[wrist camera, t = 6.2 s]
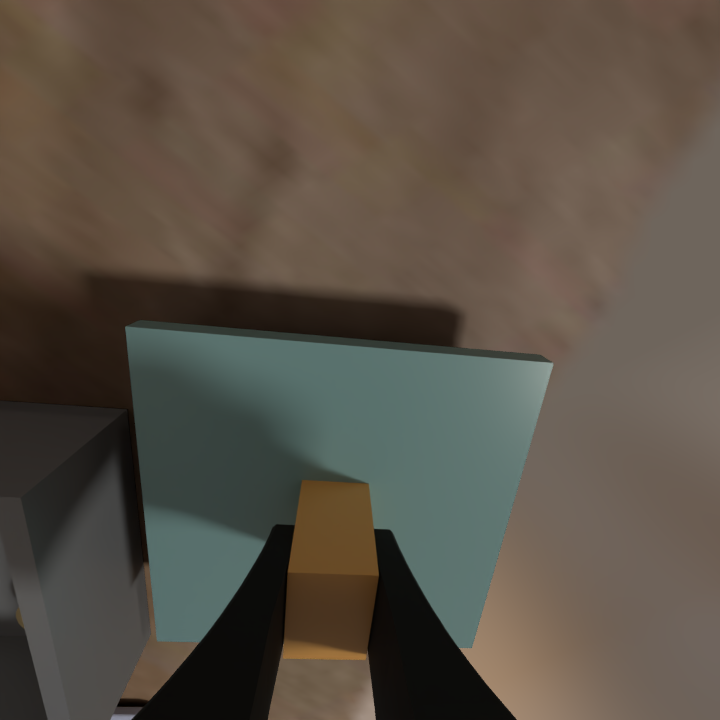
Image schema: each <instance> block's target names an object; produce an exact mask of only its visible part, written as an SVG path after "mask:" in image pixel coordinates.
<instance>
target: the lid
mask: <svg viewBox="0 0 720 720" xmlns="http://www.w3.org/2000/svg"><path fill="white" fill-rule="evenodd" d="M125 330H126V340H127V350H128V359H129V369H130V379H131V389H132V399H133V409H134V418H135V428H136V438H137V448H138V458H139V468H140V477H141V487H142V497H143V507H144V517H145V526H146V536H147V546H148V556H149V566H150V576H151V585H152V595H153V605H154V615H155V625H156V635H157V641H171V642H200V641H201V640H202V639H203V638H204V636H205V635H206V634H207V632H208V631H209V630H210V629H211V627H212V626H213V625H214V623H215V622H216V621H217V619H218V618H219V616H220V615H221V614H222V612H223V611H224V609H225V608H226V606H227V605H228V603H229V602H230V601H231V599H232V598H233V596H234V595H235V593H236V592H237V590H238V589H239V587H240V586H241V584H242V583H243V581H244V579H245V578H246V576H247V575H248V573H249V571H250V570H251V568H252V566H253V565H254V563H255V561H256V560H257V558H258V556H259V554H260V552H261V551H262V549H263V547H264V545H265V543H266V541H267V539H268V537H269V535H270V532H271V530H272V527H273V526H275V525H276V524H283V525H295V529H294V535H293V541H292V548H291V554H290V561H289V567H288V576H287V594H286V613H285V632H284V643H283V644H284V650H283V658H286V659H339V660H366V654H367V648H368V642H369V635H370V629H371V623H372V616H373V610H374V604H375V597H376V591H377V585H378V578H379V572H378V563H377V553H376V544H375V535H374V529H390V530H391V531H392V532H393V534H394V537H395V539H396V541H397V543H398V546H399V548H400V550H401V552H402V554H403V556H404V558H405V560H406V562H407V564H408V566H409V568H410V570H411V572H412V574H413V576H414V577H415V579H416V581H417V583H418V585H419V586H420V588H421V590H422V592H423V593H424V595H425V597H426V599H427V600H428V602H429V603H430V605H431V607H432V608H433V610H434V612H435V613H436V615H437V616H438V618H439V619H440V621H441V623H442V624H443V626H444V627H445V629H446V630H447V632H448V633H449V635H450V636H451V638H452V639H453V640H454V642H455V643H456V645H457V646H458V647H459V648H472V645H473V642H474V639H475V635H476V632H477V628H478V625H479V621H480V618H481V614H482V611H483V607H484V604H485V600H486V597H487V593H488V590H489V586H490V583H491V579H492V576H493V573H494V569H495V566H496V562H497V559H498V555H499V552H500V548H501V545H502V541H503V537H504V534H505V531H506V527H507V524H508V520H509V517H510V513H511V510H512V506H513V503H514V499H515V496H516V492H517V489H518V485H519V482H520V478H521V475H522V472H523V468H524V465H525V461H526V457H527V454H528V451H529V447H530V444H531V440H532V437H533V433H534V430H535V426H536V423H537V419H538V416H539V412H540V409H541V405H542V402H543V398H544V395H545V391H546V388H547V384H548V381H549V378H550V374H551V371H552V367H553V364H554V363H553V362H551V361H550V360H548V359H546V358H545V357H543V356H542V355H537V354H526V353H514V352H503V351H491V350H480V349H468V348H457V347H445V346H434V345H422V344H411V343H399V342H388V341H376V340H365V339H353V338H342V337H330V336H319V335H307V334H296V333H284V332H273V331H261V330H250V329H238V328H227V327H215V326H204V325H192V324H181V323H169V322H158V321H146V320H139V321H136V322H134V323H132V324H130V325H127V326H125Z"/></svg>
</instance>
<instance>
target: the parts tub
mask: <svg viewBox="0 0 720 720" xmlns="http://www.w3.org/2000/svg"><path fill="white" fill-rule="evenodd" d="M150 635H151V631H150V622H149V612H148V603H147V593H146V584H145V574H144V565H143V555H142V546H141V536H140V526H139V517H138V507H137V498H136V488H135V479H134V469H133V460H132V450H131V441H130V431H129V422H128V412H127V409H115V408H101V407H86V406H71V405H57V404H42V403H27V402H13V401H0V720H110V719H111V717H112V715H113V713H114V711H115V709H116V707H117V705H118V702H119V700H120V698H121V696H122V694H123V692H124V690H125V688H126V685H127V683H128V681H129V679H130V677H131V675H132V673H133V671H134V669H135V666H136V664H137V662H138V660H139V658H140V656H141V654H142V652H143V649H144V647H145V645H146V643H147V641H148V639H149V637H150Z"/></svg>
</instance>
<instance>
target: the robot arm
mask: <svg viewBox="0 0 720 720" xmlns="http://www.w3.org/2000/svg"><path fill="white" fill-rule="evenodd" d="M294 529H295V525H283V524H276V525H275V526H273V527H272V530H271V532H270V535H269V537H268V539H267V541H266V543H265V545H264V547H263V549H262V551H261V552H260V554H259V556H258V558H257V560H256V561H255V563H254V565H253V566H252V568H251V570H250V571H249V573H248V575H247V576H246V578H245V579H244V581H243V583H242V584H241V586H240V587H239V589H238V590H237V592H236V593H235V595H234V596H233V598H232V599H231V601H230V602H229V603H228V605H227V606H226V608H225V609H224V611H223V612H222V614H221V615H220V616H219V618H218V619H217V621H216V622H215V623H214V625H213V626H212V627H211V629H210V630H209V631H208V632H207V634H206V635H205V636H204V638H203V639H202V640H201V641H200V643H199V644H198V645H197V646H196V648H195V649H194V650H193V651H192V653H191V654H190V655H189V656H188V657H187V659H186V660H185V661H184V662H183V663H182V664H181V666H180V667H179V668H178V669H177V670H176V671H175V673H174V674H173V675H172V676H171V677H170V678H169V680H168V681H167V682H166V683H165V684H164V685H163V686H162V687H161V689H160V690H159V691H158V692H157V693H156V694H155V695H154V696H153V697H152V698H151V700H150V701H149V702H148V703H147V704H146V705H145V706H144V707H116V709H115V711H114V713H113V715H112V717H111V719H110V720H268V715H269V709H270V704H271V700H272V695H273V690H274V685H275V681H276V676H277V671H278V666H279V662H280V657H281V652H282V647H283V643H284V632H285V613H286V594H287V576H288V567H289V561H290V554H291V548H292V541H293V535H294ZM374 535H375V544H376V553H377V563H378V572H379V578H378V585H377V591H376V597H375V604H374V610H373V616H372V623H371V629H370V635H369V642H368V656H369V665H370V673H371V681H372V689H373V698H374V706H375V716H376V720H516V718H515V717H514V716H513V715H512V714H511V712H510V711H509V710H508V709H507V708H506V707H505V706H504V704H503V703H502V702H501V701H500V699H499V698H498V697H497V696H496V695H495V694H494V693H493V691H492V690H491V689H490V688H489V687H488V686H487V684H486V683H485V682H484V680H483V679H482V678H481V677H480V675H479V674H478V673H477V671H476V670H475V669H474V668H473V666H472V665H471V664H470V663H469V661H468V660H467V659H466V657H465V656H464V654H463V653H462V652H461V650H460V649H459V647H458V646H457V645H456V643H455V642H454V640H453V639H452V638H451V636H450V635H449V633H448V632H447V630H446V629H445V627H444V626H443V624H442V623H441V621H440V619H439V618H438V616H437V615H436V613H435V612H434V610H433V608H432V607H431V605H430V603H429V602H428V600H427V599H426V597H425V595H424V593H423V592H422V590H421V588H420V586H419V585H418V583H417V581H416V579H415V577H414V576H413V574H412V572H411V570H410V568H409V566H408V564H407V562H406V560H405V558H404V556H403V554H402V552H401V550H400V548H399V546H398V543H397V541H396V539H395V537H394V534H393V532H392V531H391V530H390V529H374Z"/></svg>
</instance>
